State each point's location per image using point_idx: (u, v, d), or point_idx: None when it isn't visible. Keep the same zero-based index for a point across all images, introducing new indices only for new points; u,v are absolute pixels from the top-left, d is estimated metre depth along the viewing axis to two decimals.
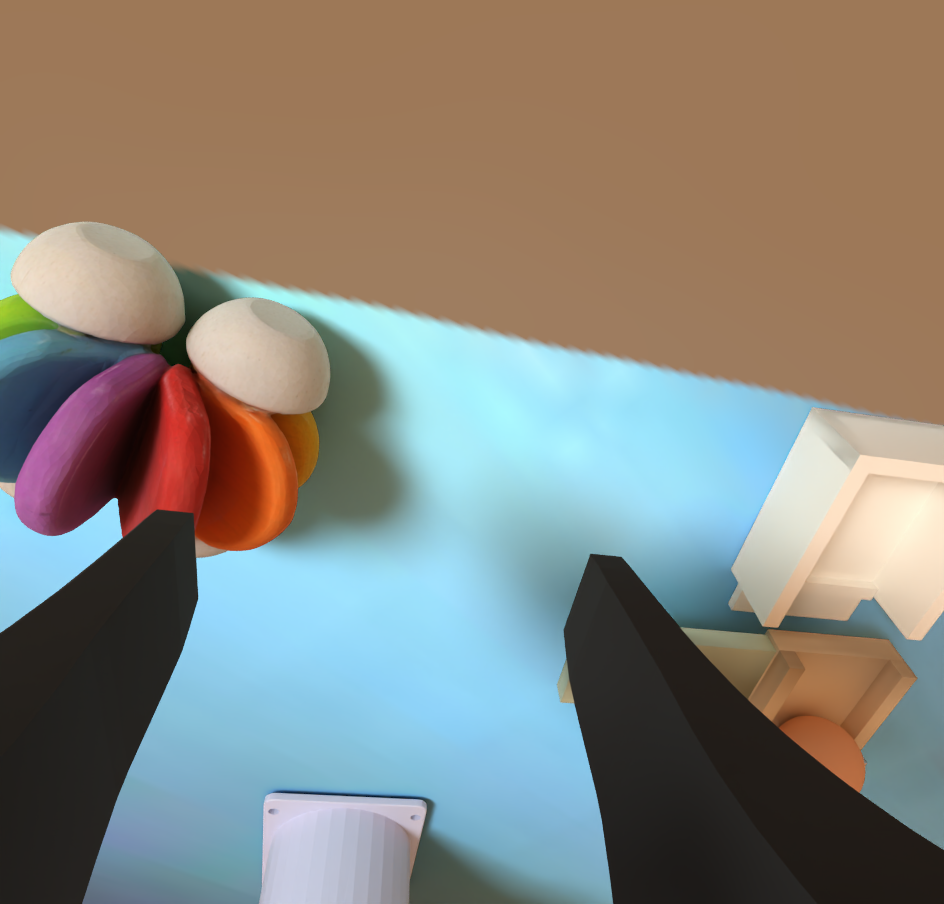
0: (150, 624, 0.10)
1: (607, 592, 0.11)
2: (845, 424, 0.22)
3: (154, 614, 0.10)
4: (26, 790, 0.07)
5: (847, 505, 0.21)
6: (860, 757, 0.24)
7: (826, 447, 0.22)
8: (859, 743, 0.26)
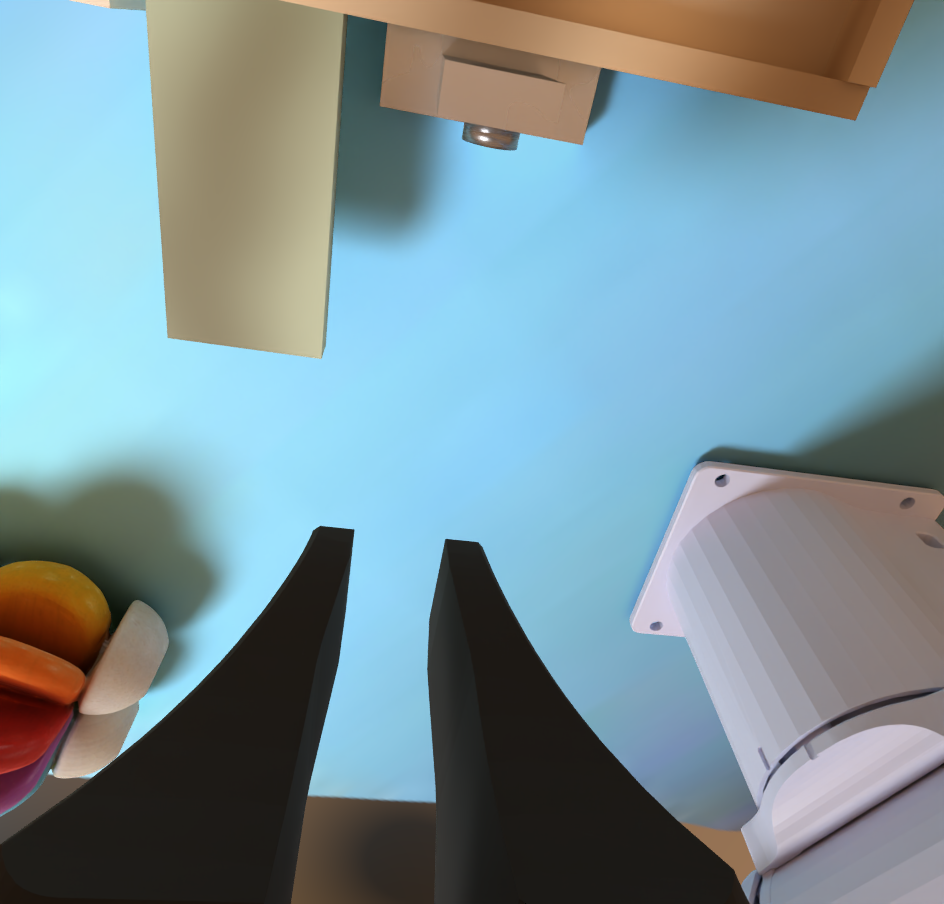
0: (333, 639, 0.10)
1: (449, 577, 0.11)
2: None
3: (335, 629, 0.10)
4: (294, 803, 0.07)
5: None
6: None
7: None
8: None
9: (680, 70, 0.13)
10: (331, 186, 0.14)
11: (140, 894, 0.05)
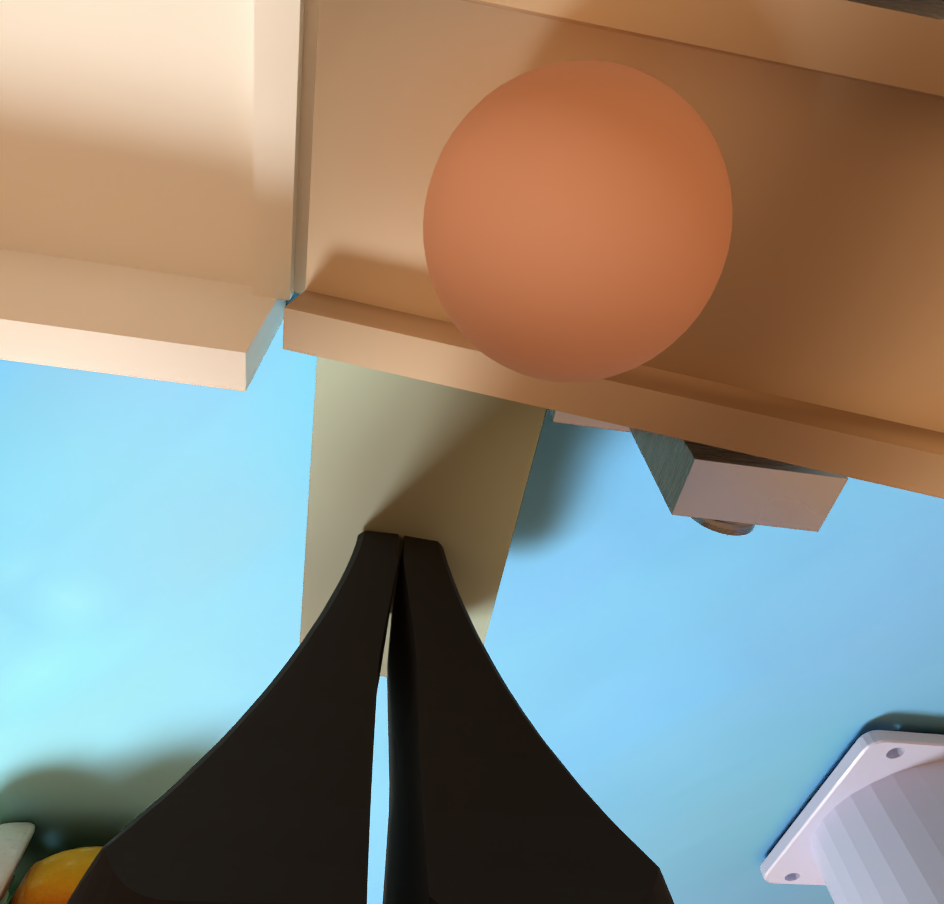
0: (383, 643, 0.10)
1: (404, 573, 0.11)
2: None
3: (385, 633, 0.11)
4: None
5: None
6: None
7: None
8: None
9: None
10: (508, 544, 0.12)
11: (247, 896, 0.05)
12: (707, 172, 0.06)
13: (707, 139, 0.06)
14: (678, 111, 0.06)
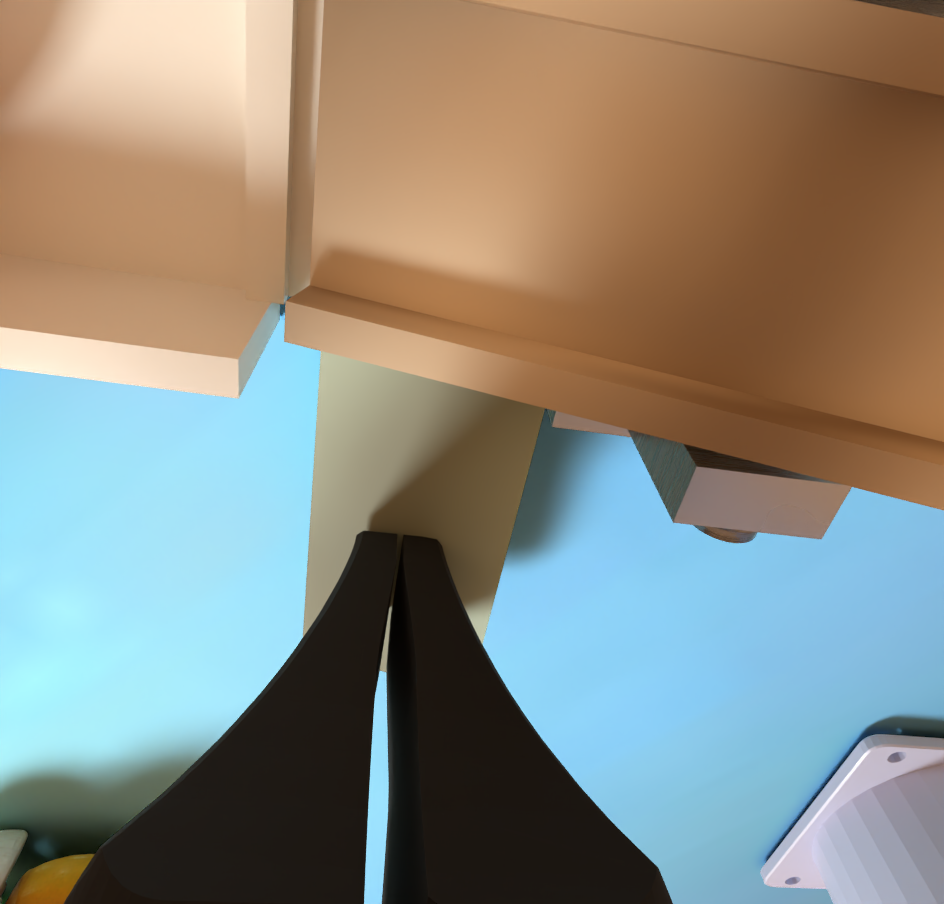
0: (382, 643, 0.10)
1: (403, 573, 0.11)
2: None
3: (384, 633, 0.11)
4: None
5: None
6: None
7: None
8: None
9: None
10: (507, 543, 0.12)
11: (244, 897, 0.05)
12: None
13: None
14: None
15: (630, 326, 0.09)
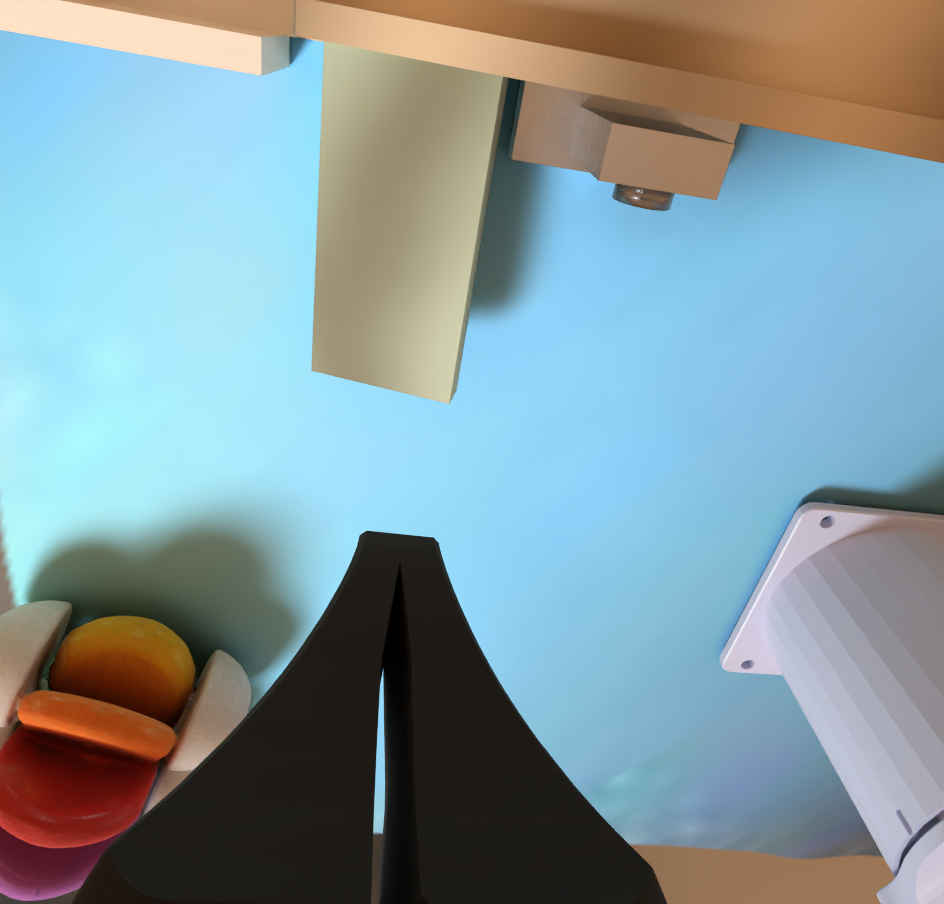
0: (385, 643, 0.10)
1: (400, 572, 0.11)
2: None
3: (387, 633, 0.11)
4: None
5: None
6: None
7: None
8: None
9: (863, 131, 0.11)
10: (475, 239, 0.14)
11: (251, 896, 0.05)
12: None
13: None
14: None
15: (559, 12, 0.12)
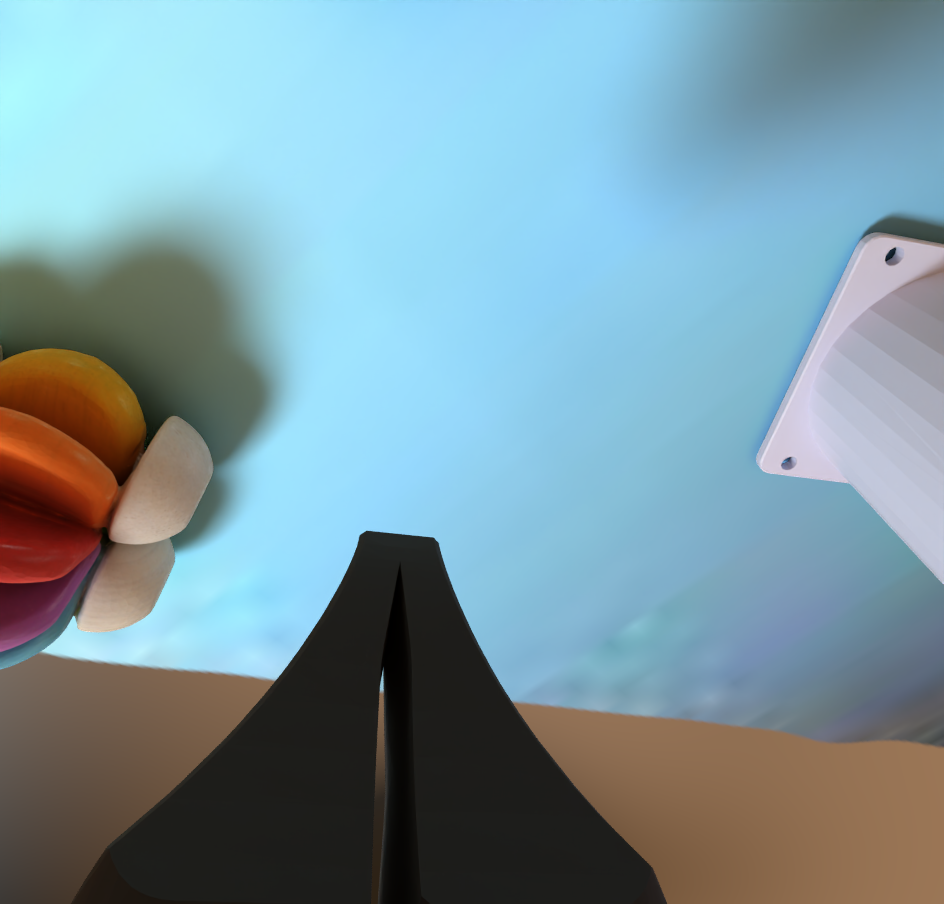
0: (386, 643, 0.10)
1: (399, 572, 0.11)
2: None
3: (387, 633, 0.11)
4: None
5: None
6: None
7: None
8: None
9: None
10: None
11: (251, 896, 0.05)
12: None
13: None
14: None
15: None
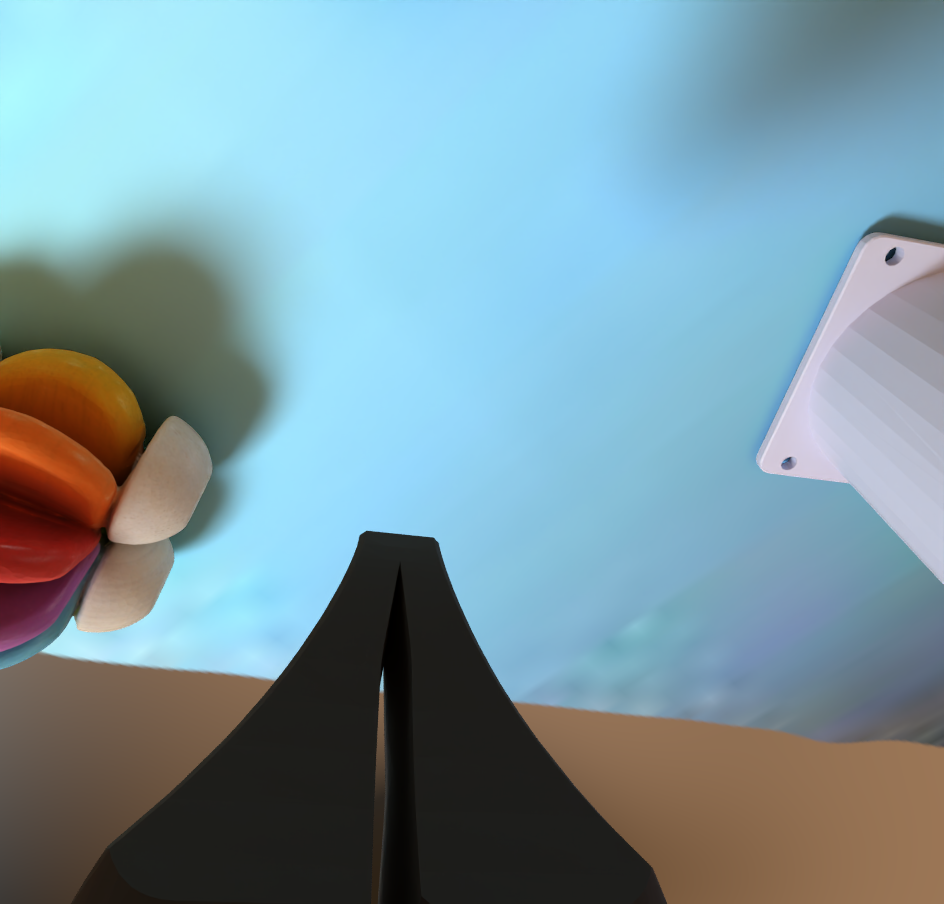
0: (386, 643, 0.10)
1: (399, 572, 0.11)
2: None
3: (387, 633, 0.11)
4: None
5: None
6: None
7: None
8: None
9: None
10: None
11: (251, 896, 0.05)
12: None
13: None
14: None
15: None
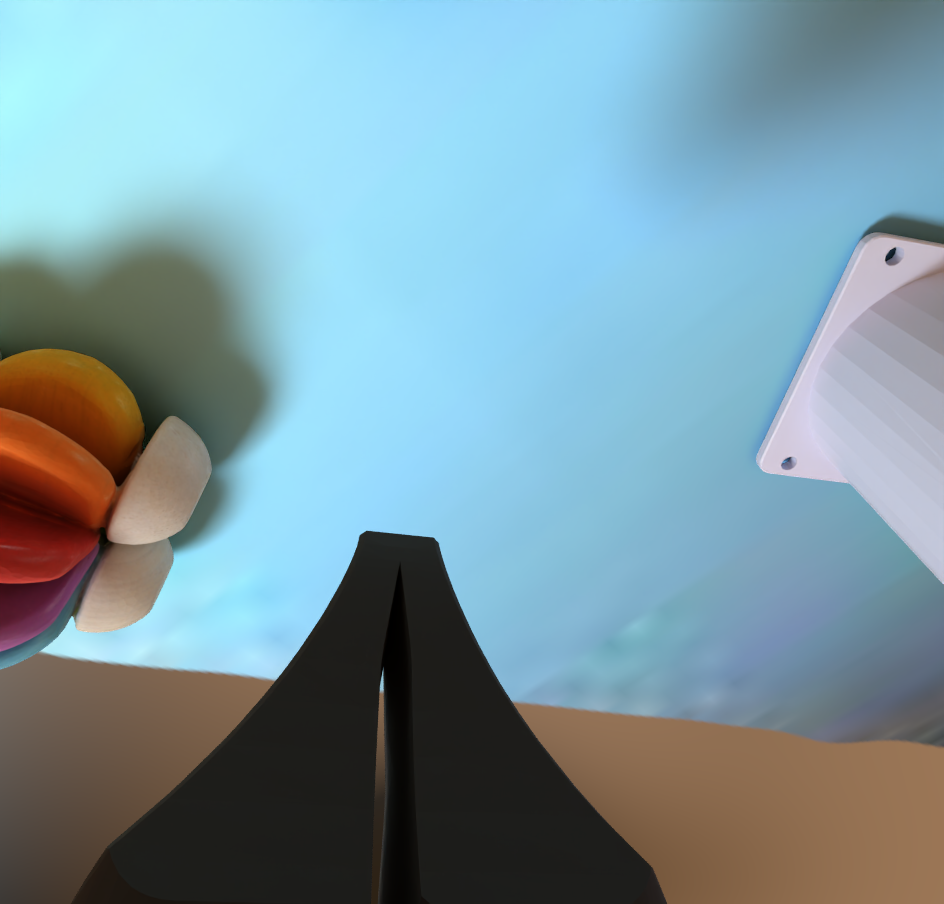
0: (386, 643, 0.10)
1: (399, 572, 0.11)
2: None
3: (387, 633, 0.11)
4: None
5: None
6: None
7: None
8: None
9: None
10: None
11: (251, 896, 0.05)
12: None
13: None
14: None
15: None
